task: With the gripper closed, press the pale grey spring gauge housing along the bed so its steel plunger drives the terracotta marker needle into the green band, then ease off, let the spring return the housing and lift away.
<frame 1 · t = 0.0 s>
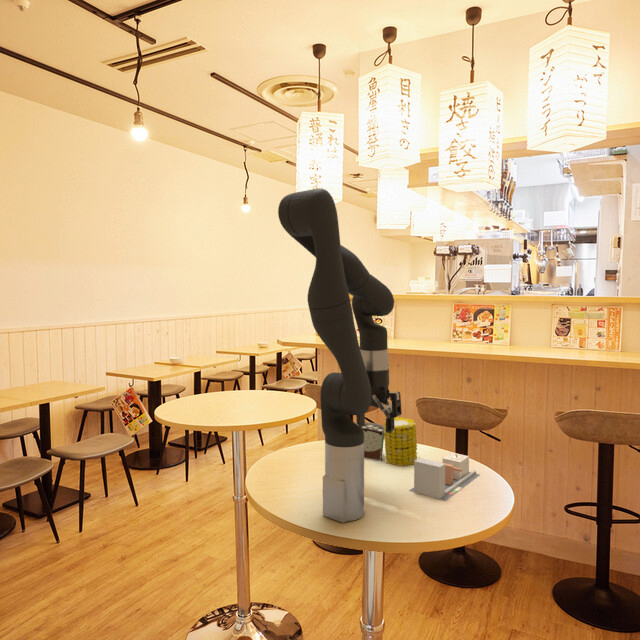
hand: (375, 429, 125), 17 cm above the table, tool pointing down, fingers open, 8 cm apart
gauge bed: (446, 487, 131), on the table
chocolate cake half: (371, 456, 157), on the table
gauge housing: (453, 467, 134), point 4 cm above the table, slide at 0.0 cm
marker needle: (449, 474, 129), point 4 cm above the table, slide at 0.0 cm
food: (400, 466, 148), on the table
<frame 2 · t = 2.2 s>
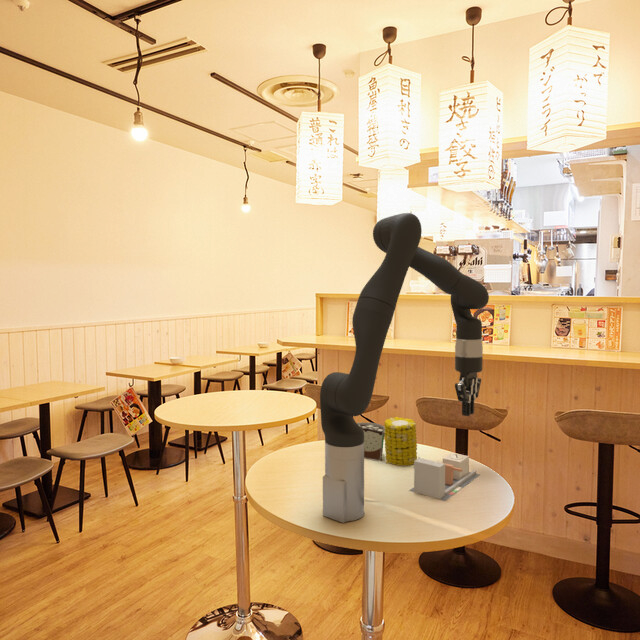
hand: (468, 414, 140), 17 cm above the table, tool pointing down, fingers closed
nothing on the table moved.
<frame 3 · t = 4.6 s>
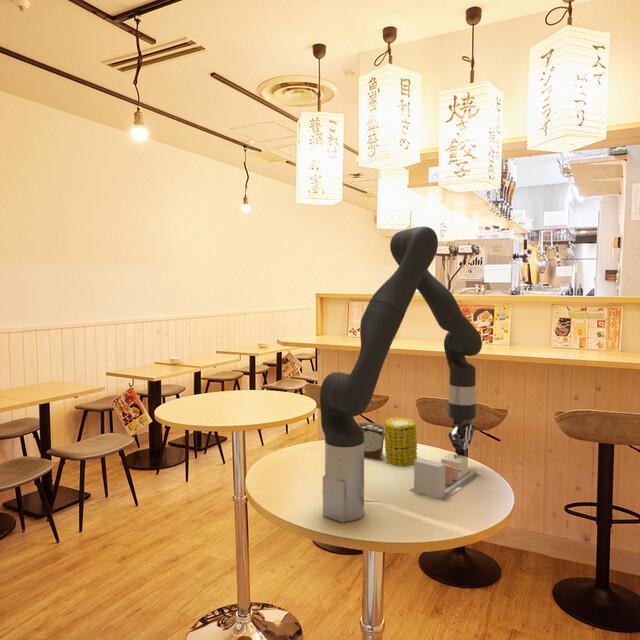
hand: (461, 461, 138), 4 cm above the table, tool pointing down, fingers closed
gauge housing: (452, 467, 133), point 4 cm above the table, slide at 0.8 cm, touching gripper, marker needle
marker needle: (448, 474, 129), point 4 cm above the table, slide at 0.4 cm, touching gauge housing
everything else where it was.
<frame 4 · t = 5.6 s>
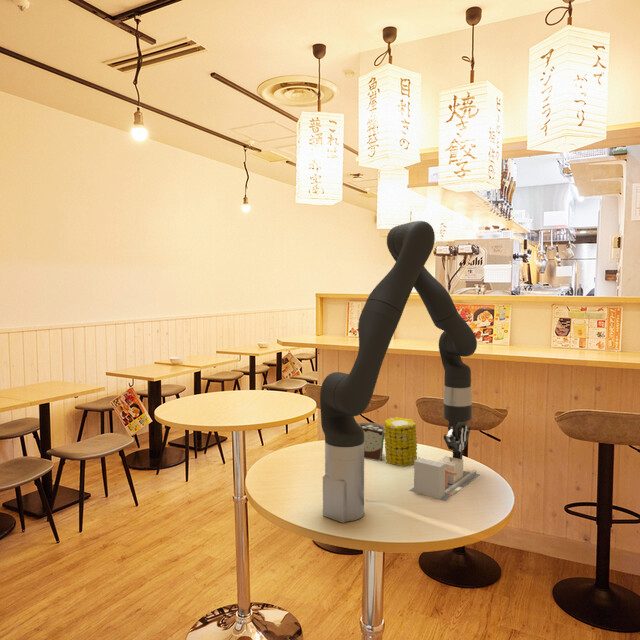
hand: (457, 463, 136), 5 cm above the table, tool pointing down, fingers closed
gauge housing: (447, 470, 131), point 4 cm above the table, slide at 3.7 cm, touching gripper, marker needle
marker needle: (443, 478, 126), point 4 cm above the table, slide at 3.3 cm, touching gauge housing
everything else where it was.
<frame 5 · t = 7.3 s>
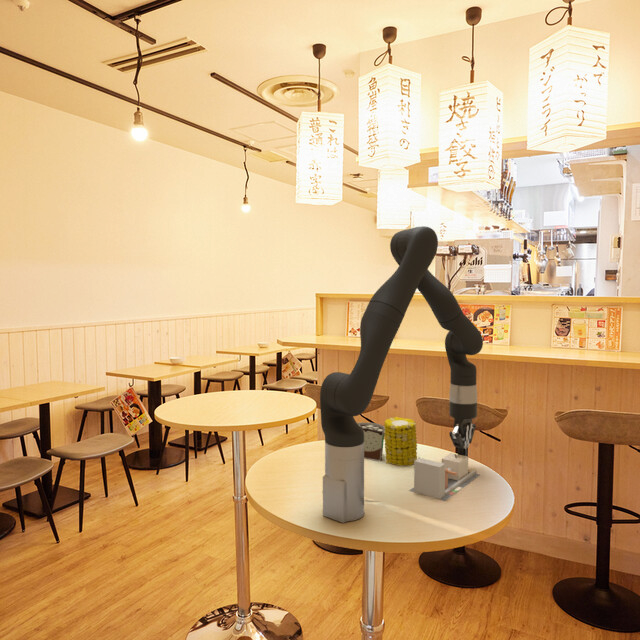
hand: (462, 460, 138), 5 cm above the table, tool pointing down, fingers closed
gauge housing: (452, 467, 134), point 4 cm above the table, slide at 0.5 cm
marker needle: (443, 478, 126), point 4 cm above the table, slide at 3.3 cm
everything else where it was.
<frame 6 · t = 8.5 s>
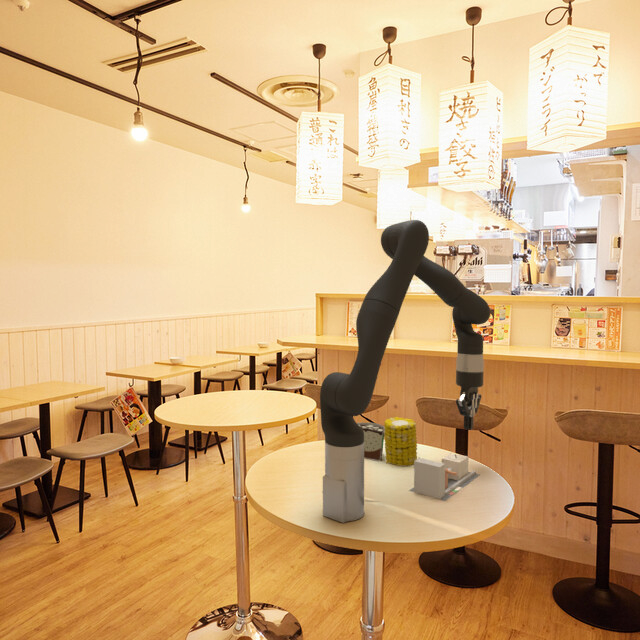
hand: (468, 429, 141), 13 cm above the table, tool pointing down, fingers closed
nothing on the table moved.
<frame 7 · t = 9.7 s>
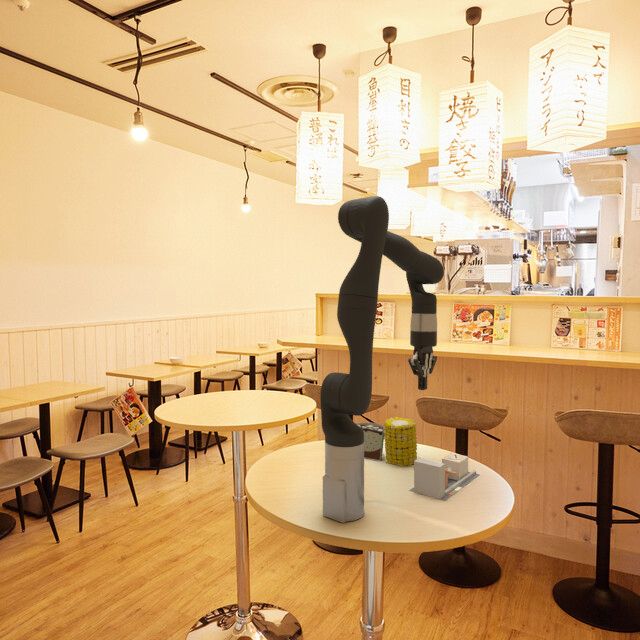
hand: (422, 389, 141), 24 cm above the table, tool pointing down, fingers closed
nothing on the table moved.
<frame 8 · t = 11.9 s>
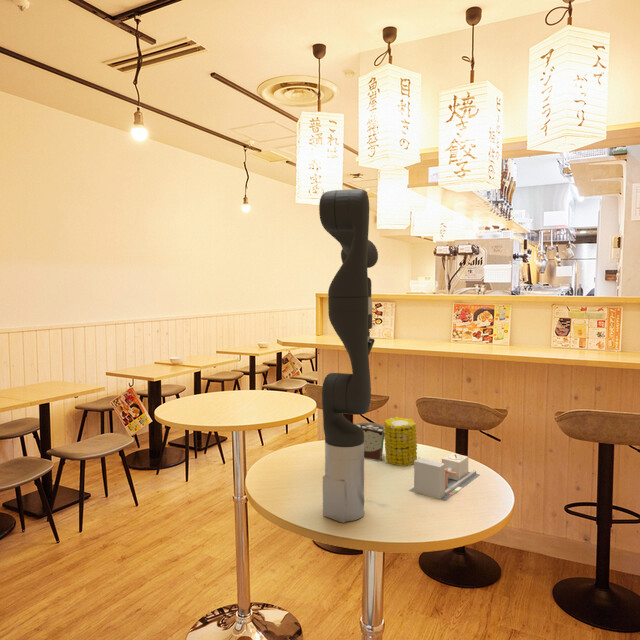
hand: (359, 371, 143), 29 cm above the table, tool pointing down, fingers closed
nothing on the table moved.
at the end: marker needle slide at 3.3 cm; gauge housing slide at 0.5 cm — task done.
